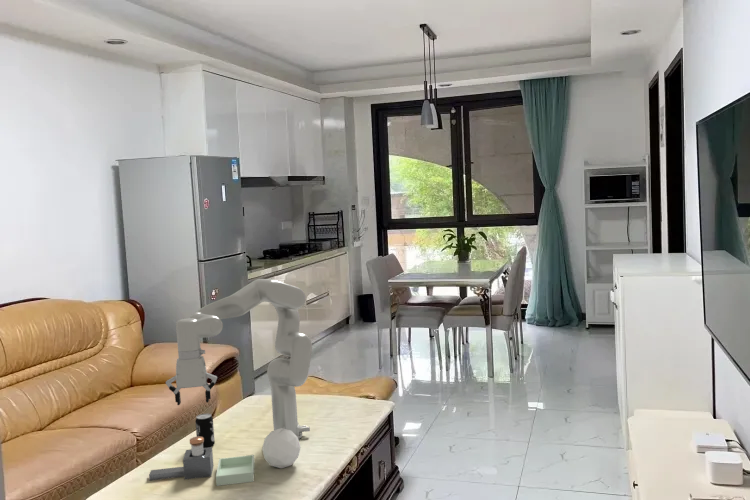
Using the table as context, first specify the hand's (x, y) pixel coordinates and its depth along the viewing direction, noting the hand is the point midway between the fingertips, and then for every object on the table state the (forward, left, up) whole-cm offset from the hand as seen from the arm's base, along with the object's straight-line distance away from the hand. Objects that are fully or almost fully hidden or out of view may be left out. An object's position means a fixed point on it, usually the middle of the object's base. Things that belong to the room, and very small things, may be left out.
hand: (193, 402), depth 230 cm
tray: (-13, +5, -25) cm, 29 cm away
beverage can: (0, -25, -25) cm, 36 cm away
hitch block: (+6, 0, -25) cm, 26 cm away
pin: (0, 0, -25) cm, 25 cm away
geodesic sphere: (-29, +2, -26) cm, 39 cm away
